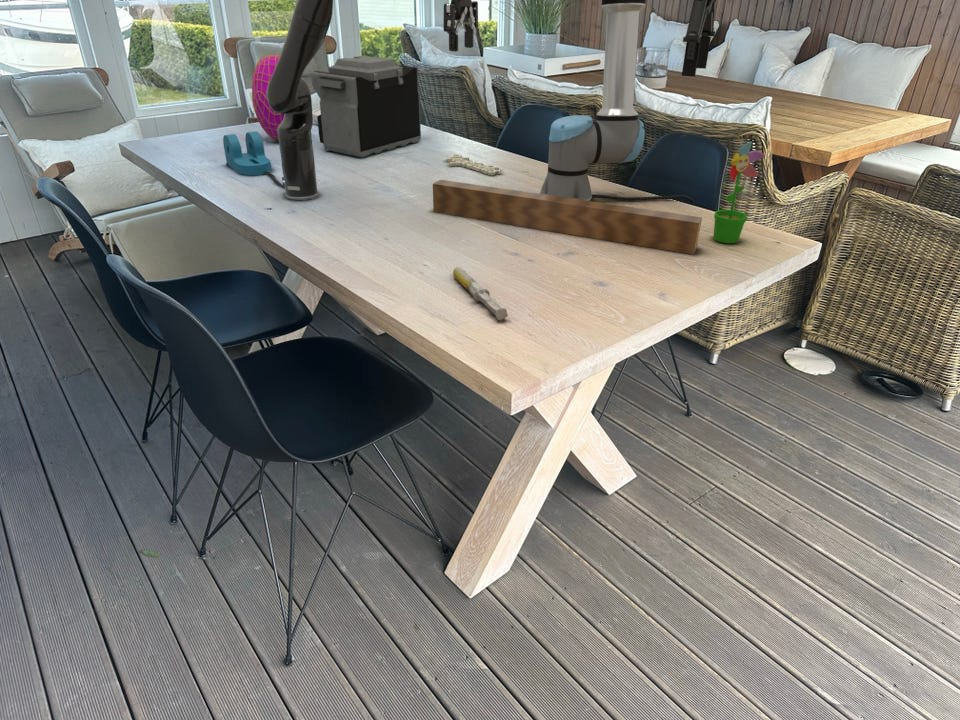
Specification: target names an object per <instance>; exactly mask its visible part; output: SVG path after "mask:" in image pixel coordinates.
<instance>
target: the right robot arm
mask: <svg viewBox="0 0 960 720" xmlns="http://www.w3.org/2000/svg"><path fill="white" fill-rule="evenodd" d="M646 2H647V0H601V9H602V10H603V11H604V12H605V14H606V22H605V23H606V24H605V41H604V43H605V45H604V61H603V63H604V65H603V83H602V84H603V85H602V103H601V109H599V111H598V112H597V113H596V116H595V118H596V120H595V121H594V120H593V118H592V117H591V116H589V115H584V114H583V115H579V114H578V115H577V114H575V115H568V116H563V117H560V118H557V119H555V120H554V121H553V122H552V123H551V125H550V129H549V130H550V131H549V135H548V141H549V144H548V159H547V173H546V176H545V178H544V181H543V184H542V187H541V189H540V192H539V194H544V195H551V196H558V197H564V198H571V199H578V200H585V201H592V199H604V200H614V201H629V202H630V201H632V202H633V201H655V200H656V201H657V200H675V199H684V200H687V201H689V202H690V203H691V204H695V203H696V202H695V200H694V199H693V198H692V197H691V196H689V195H687V194H674V195H654V196H614V195H605V194H594V193H592V188H591V184H590V179H589V165H594V164H595V165H597V164H622V163H630V162H633V161H634V160H636V159H637V158H638V157H639V155H640V153H641V151H642V149H643V146H644V143H645V142H644V141H645V136H646V133H645V131H646V130H645V124H644V123H643V121H642V120H640V119H639V113H638V112H637V110H636V109H635V108H634V97H635V84H636V83H635V82H636V67H637V66H636V65H637V52H638V38H639V37H638V35H639V22H640V13H641V11H642V10H643V9H644V8H645V7H646ZM716 8H717V0H693V2H692V7H691V11H690V15H689V19H688V24H687V29H686V33H685V36H683V38H682V43H685V49H684V57H683V64H682V71H681V77H691V78H692V77H693V78H694V77H696V75H697V74H696V73H697V69H702V70H704V69H705V70H706V69H707V66H708V65H707V64H708V58H709V51H710V45H711V40H712V37H715V35H716V31H715V20H716V19H715V18H716V10H717V9H716ZM592 202H593V201H592Z"/></svg>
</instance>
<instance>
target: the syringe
mask: <svg viewBox="0 0 960 720" xmlns="http://www.w3.org/2000/svg"><path fill="white" fill-rule="evenodd" d="M452 274H453V277H454V279H455V280H457V281H458V282H459V283H460V285H462V287H464V289H466V290H467V291H468V293H470V295H471V296H472V298H473V300H474V302H477V303H478V302H480V303H482V304H483V305H484V306H485V307H486V308H487V309H488V310H489V311H490V312H491V313H492V314H493V315H494V316H495V317H496V320H497V321H503V320H504V319H506V318H507V317H509V314H508V310H507V308H506V307H502V306H501V305H500V303H498V302H497V301H496V300H494V299H493V298H492V297H491V296H490V295H491V293H490V290H488V289H486V288H483V287H482V286H481V285H480V284H479V283H478V282H477V281H476V280H474V278H473V277H471V275H469V274H468V273H467V272H466V270H465V269H464V268H463V267H462V266H456V267H454V268H453V271H452Z"/></svg>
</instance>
